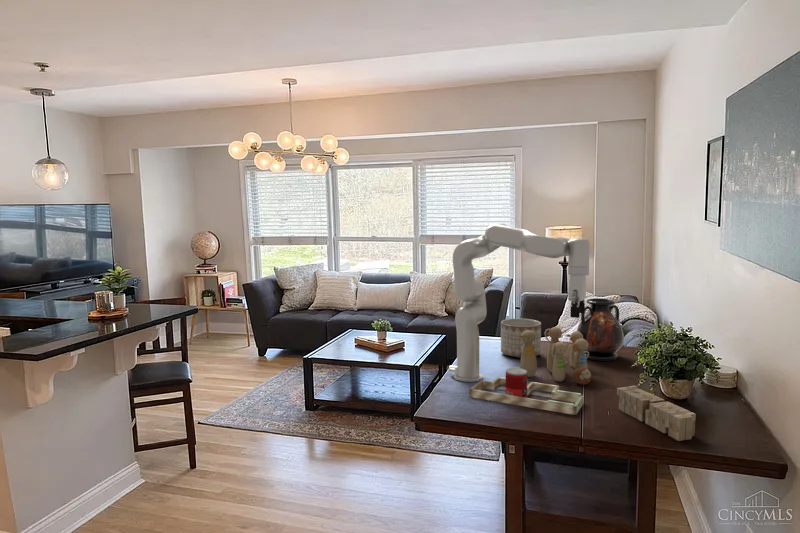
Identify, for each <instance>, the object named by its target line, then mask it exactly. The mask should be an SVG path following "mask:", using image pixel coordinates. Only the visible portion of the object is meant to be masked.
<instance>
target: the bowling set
mask: <svg viewBox="0 0 800 533" xmlns="http://www.w3.org/2000/svg"><path fill="white" fill-rule="evenodd" d="M562 336H563V331H562V329H561V328H560V327H557V326H553V327H551V328H547V329H545V331H544V337H545V339H546V340H547V342H548V343H549V344H548V349H547V355H546V367H547V370H548V371H549V372H550V373H551V374H552V380H553V381H555V382H564V380H566V375H567V374H566V371H567V370H566V364H568V362H569V365H570V367H571V368H573V369H574V370H573V371H574V372H573V379H574V381H575V382H576V383H577V384H578V385H581V386H584V385H588V384H589V383H590V382H591V380H592V373H591V371H590V369H588V363H587V362H588V361H587V360H588V359H587V358H588V356H589V352H588V351H585V350H587V349H588V346H589V344H588V342H587V341H586V340H585V339H583V335H582V334H581V333H580V332H578V331H577V330H576V331H573V332H571V333H570V336H569V341H571V342H572V344H569V345H567V344H565V343H564V342H563V341H561V340H559V339H560V338H561V337H562ZM548 337H550V339H549V338H548ZM521 338H522V340H523V341H524V345H523V346H522V348H521V354H522V355H521V358H520V365H519V368H521V369H524V370H526V371H527V378H533V377H534V376H536V373H537V368H538V362H537V356H536V355H535V351H536V350H537V348H538V345H537V343H533V344H532V342H533V341H534V340H535V338H536V335H535V333H534V332H533V331H531V330H527V331H525V332H523V334H522V335H521ZM533 345H536V349H535V350H534V347H533ZM567 351H568V353H569V358H568V356H567V355H566V354H565V353H567ZM586 352H587V354H588V355H587V357H586V355H585V353H586ZM565 360H566V361H565Z"/></svg>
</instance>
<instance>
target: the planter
mask: <svg viewBox="0 0 800 533" xmlns="http://www.w3.org/2000/svg"><path fill="white" fill-rule="evenodd" d="M527 330H531V331H533V332H534V333H535V335H536V338H535V340H534V341H533V342H532V344H533V343H537V345H538V348H537V350H536V351H535V355H536V357H537V356H539V355H540V354H541V353H542V352H541V351H542V350H541V349H542V322H541V321H539V320H535V319H530V318H506V319H503V320H501V321H500V352H501V353H502V354H504V355H507V356H510V357H513V358H517V357H519V358H518V359H521V355H522V354H521V348H522V346H523V345H524V341H523V340H522V338H521V335H522V334H523V332H525V331H527ZM533 347H534V350H535V349H536V345H533Z"/></svg>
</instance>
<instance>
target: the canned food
mask: <svg viewBox="0 0 800 533" xmlns="http://www.w3.org/2000/svg"><path fill="white" fill-rule="evenodd" d="M505 378H506V391H505V394H506V395H512V396H519V397H525V398H528V395H527V386H528V377H527V371H526V370H524V369H521V368H520V367H509V368H507V369H506V370H505Z"/></svg>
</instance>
